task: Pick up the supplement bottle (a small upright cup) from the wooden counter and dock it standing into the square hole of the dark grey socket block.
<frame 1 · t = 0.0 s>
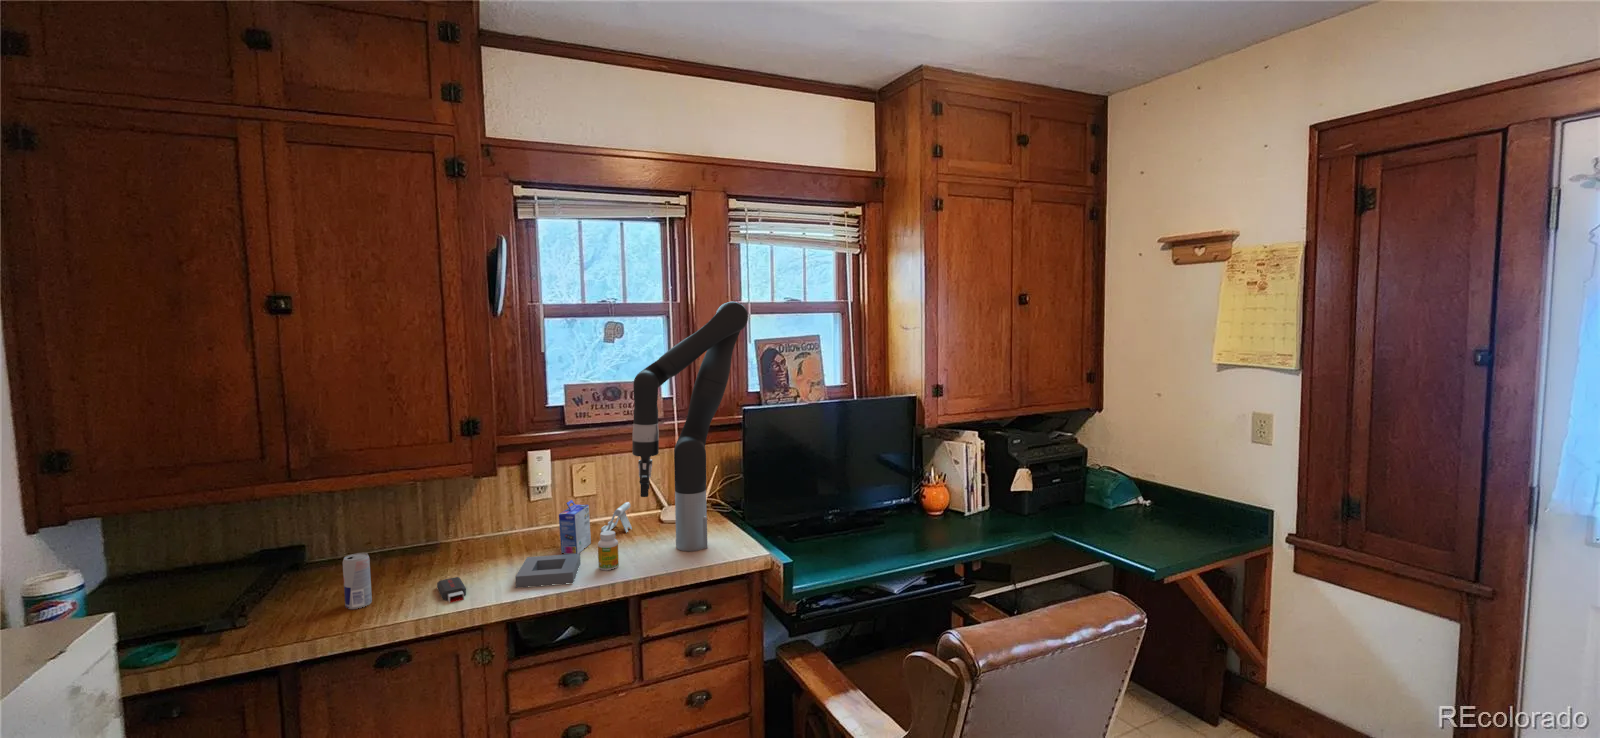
hand: (645, 492, 195), 17 cm above the table, tool pointing down, fingers open, 8 cm apart
energy drink: (358, 605, 160), on the table
ink cartridge box: (575, 549, 198), on the table
socket block: (549, 575, 177), on the table
supplement bottle: (608, 567, 183), on the table
portable electronic device stand: (618, 531, 214), on the table
usb drive: (452, 595, 166), on the table
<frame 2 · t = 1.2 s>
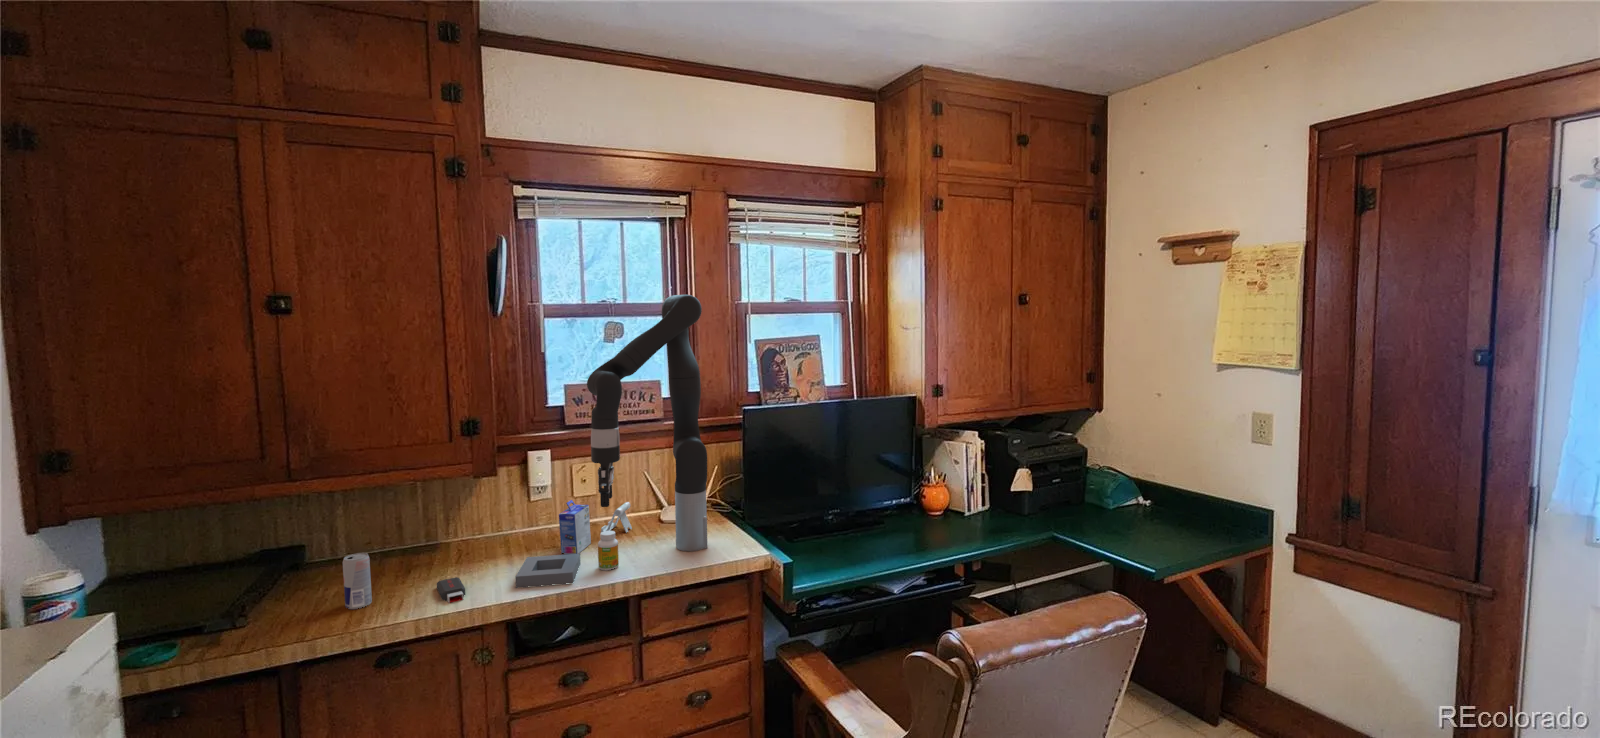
hand: (606, 502, 182), 18 cm above the table, tool pointing down, fingers open, 8 cm apart
nothing on the table moved.
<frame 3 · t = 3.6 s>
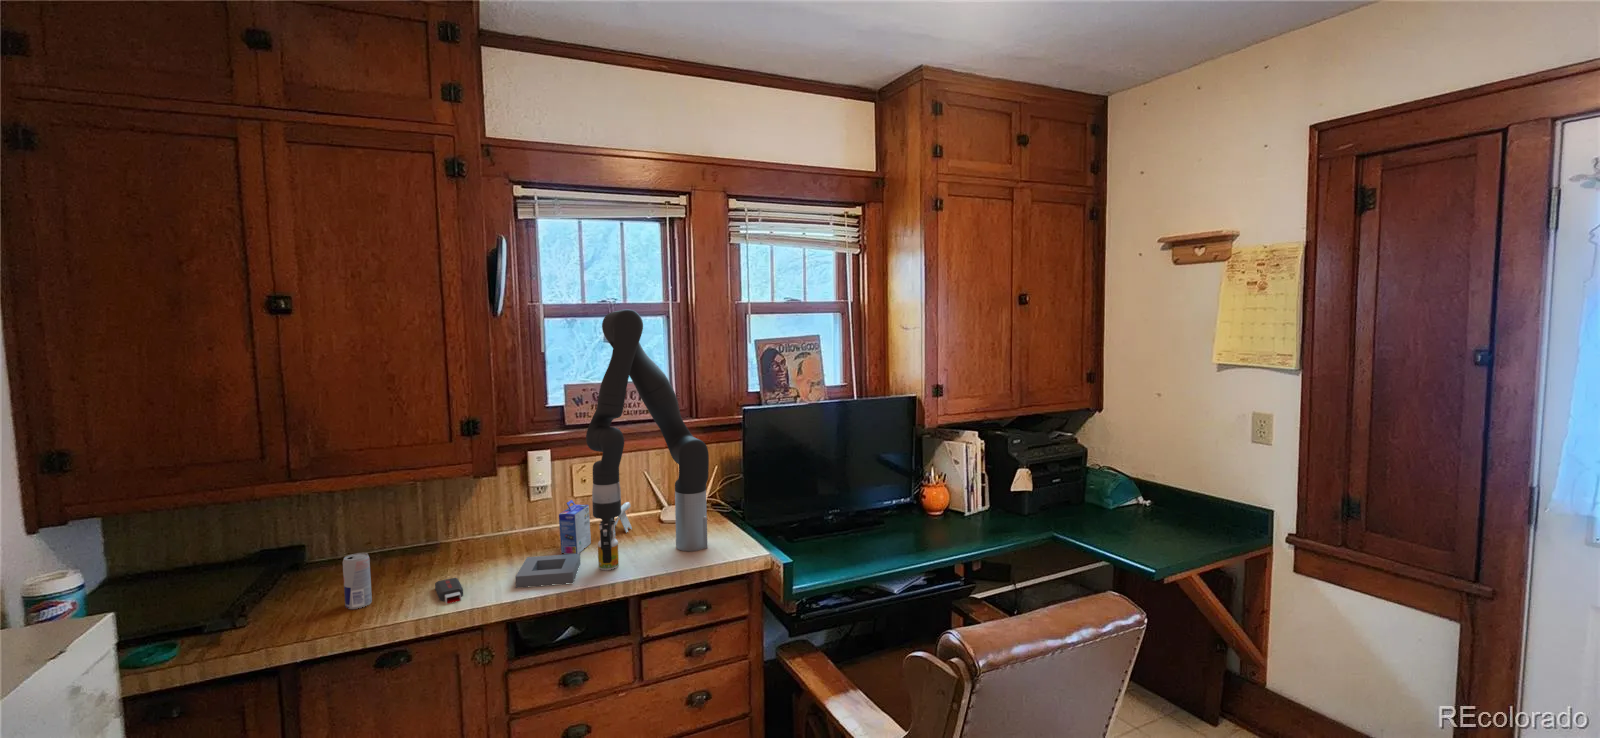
hand: (608, 558, 183), 2 cm above the table, tool pointing down, fingers closed on supplement bottle, 5 cm apart
supplement bottle: (608, 567, 183), on the table, touching gripper
everything else where it was.
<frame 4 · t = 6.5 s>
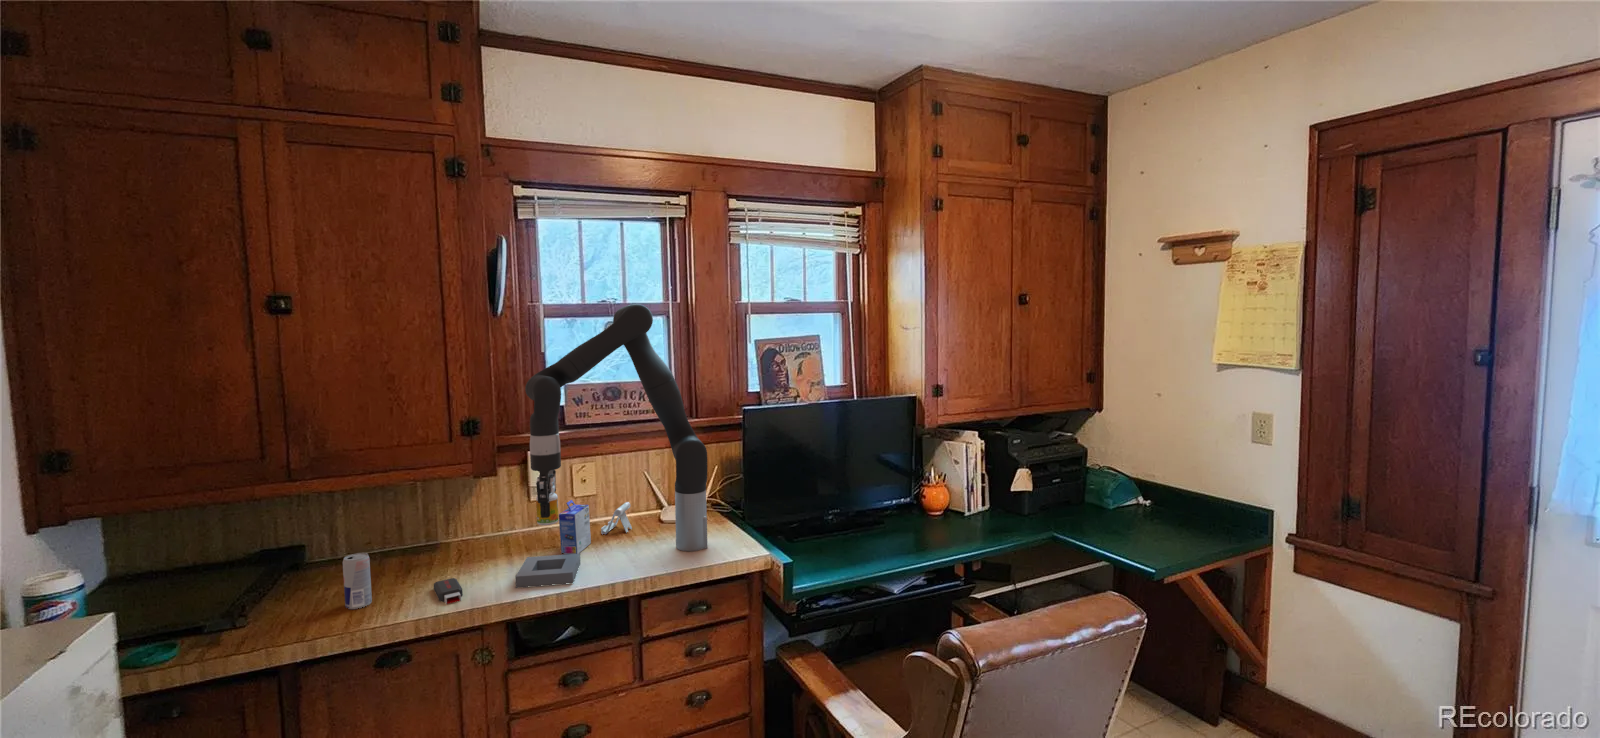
hand: (547, 513, 176), 17 cm above the table, tool pointing down, fingers closed on supplement bottle, 5 cm apart
supplement bottle: (547, 523, 176), point 14 cm above the table, touching gripper
everything else where it was.
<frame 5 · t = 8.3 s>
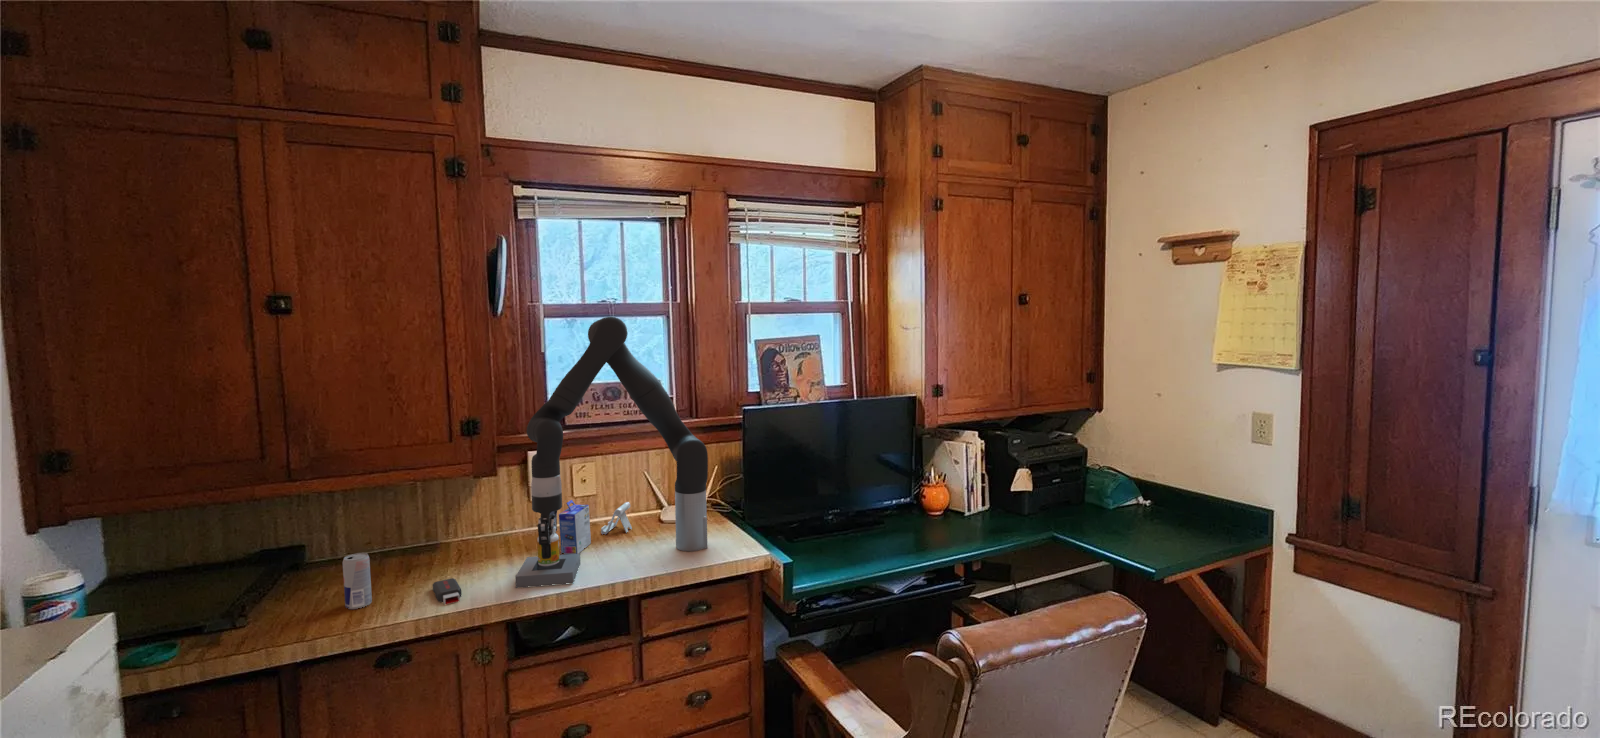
hand: (548, 553, 177), 6 cm above the table, tool pointing down, fingers closed on supplement bottle, 5 cm apart
supplement bottle: (548, 563, 177), point 3 cm above the table, touching gripper
when the fingers open (4 cm above the table, at t = 9.6 s): supplement bottle drops 2 cm, resting in socket block.
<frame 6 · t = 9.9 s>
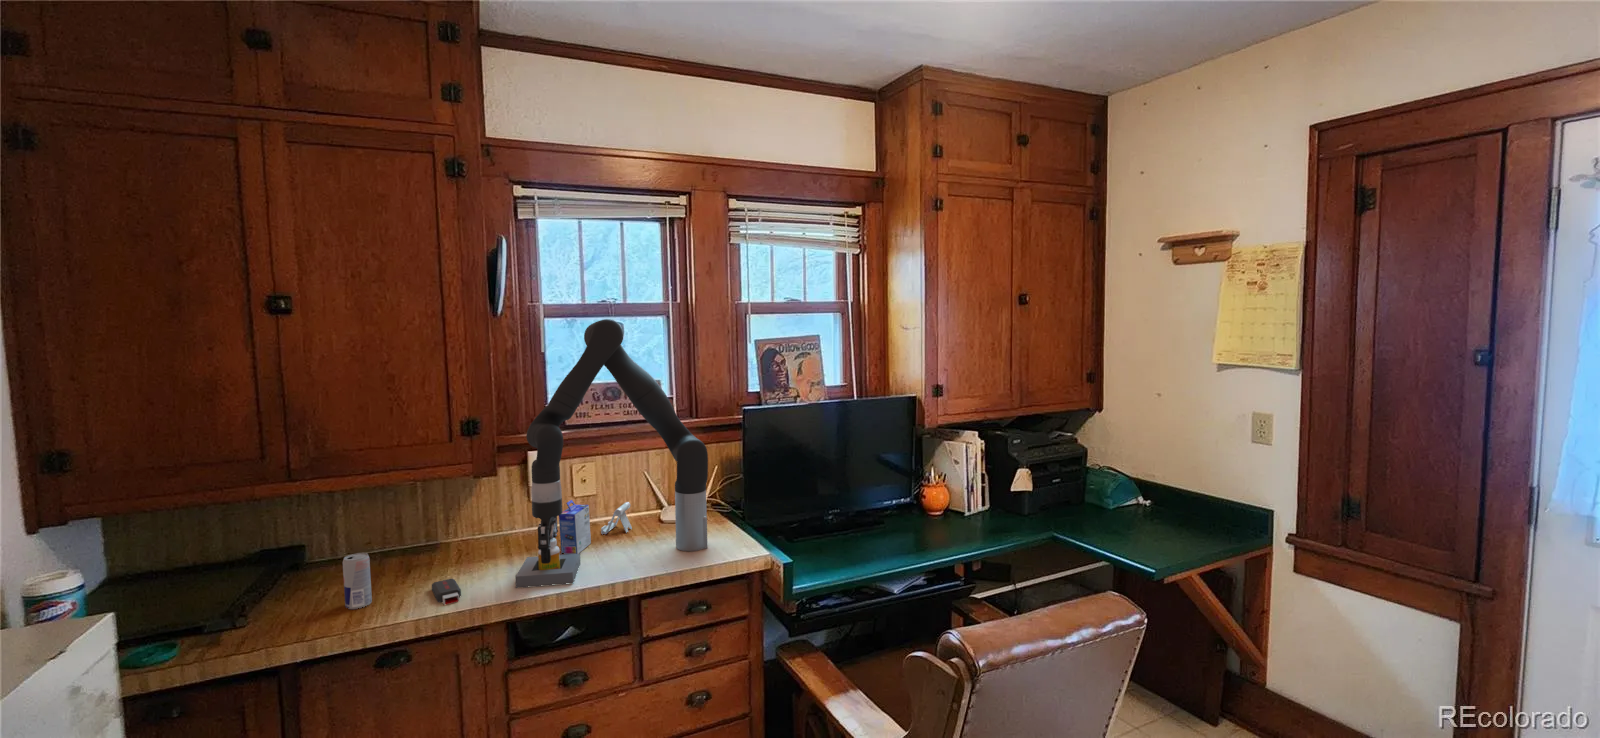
hand: (548, 557, 177), 5 cm above the table, tool pointing down, fingers open, 8 cm apart
supplement bottle: (549, 576, 177), resting in socket block
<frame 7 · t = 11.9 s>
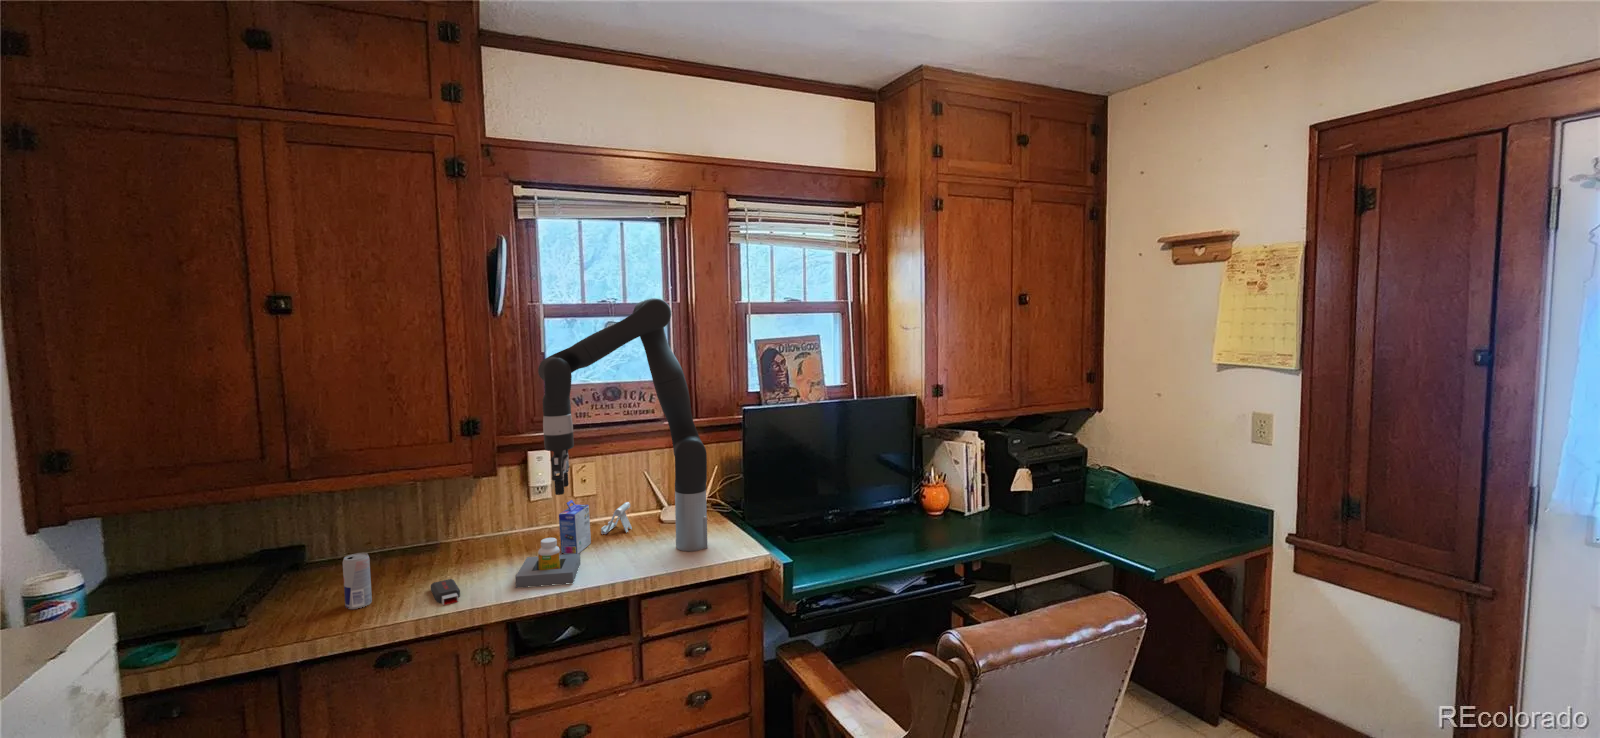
hand: (562, 490, 179), 22 cm above the table, tool pointing down, fingers open, 8 cm apart
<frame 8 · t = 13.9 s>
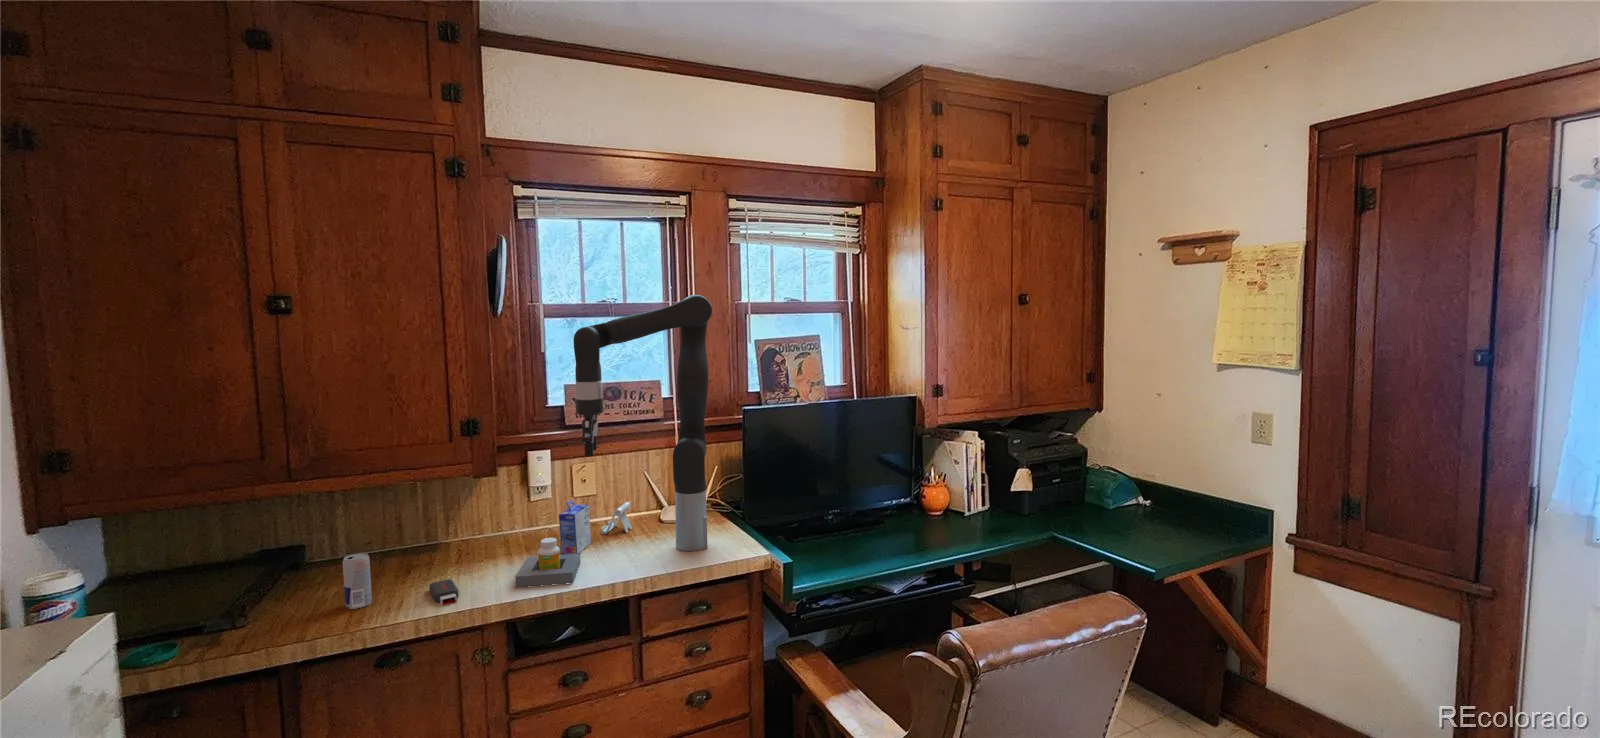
hand: (590, 453, 190), 30 cm above the table, tool pointing down, fingers open, 8 cm apart
at the end: supplement bottle 0.0 cm off-centre on the socket block, point 0.0 cm above the socket block's base; supplement bottle tilted 0°; the gripper is holding nothing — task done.
